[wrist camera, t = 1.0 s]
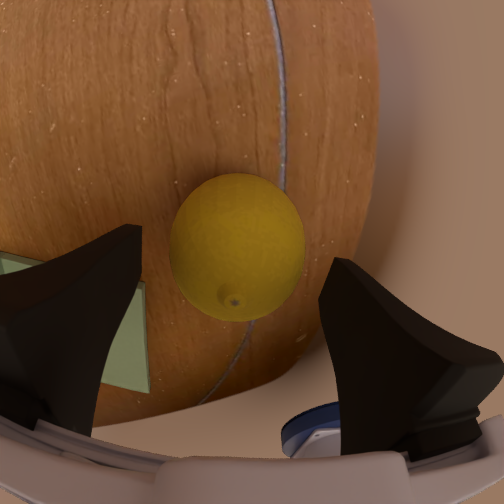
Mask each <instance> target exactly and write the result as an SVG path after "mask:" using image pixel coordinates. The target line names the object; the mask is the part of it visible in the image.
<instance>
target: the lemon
mask: <svg viewBox="0 0 504 504" xmlns="http://www.w3.org/2000/svg"><path fill="white" fill-rule="evenodd" d="M169 258H170V263H171V268H172V272H173V276H174V279H175V281H176V283H177V285H178V287H179V289H180V291H181V293H182V294H183V295H184V296H185V297H186V299H187V300H188V301H189V302H190V303H191V304H192V305H193V306H194V307H196V308H197V309H199V310H200V311H202V312H203V313H205V314H207V315H209V316H211V317H214V318H216V319H219V320H224V321H230V322H244V321H250V320H255V319H258V318H260V317H263V316H265V315H267V314H270V313H271V312H273V311H274V310H276V309H277V308H278V307H280V306H281V305H282V304H283V303H284V302H285V301H286V300H287V298H288V297H289V296H290V295H291V294H292V293H293V291H294V289H295V287H296V285H297V283H298V281H299V279H300V277H301V274H302V269H303V264H304V259H305V238H304V229H303V225H302V222H301V220H300V217H299V215H298V212H297V210H296V208H295V206H294V205H293V203H292V202H291V201H290V199H289V198H288V197H287V196H286V194H285V193H284V192H283V191H282V190H281V189H279V188H278V187H277V186H275V185H274V184H272V183H271V182H270V181H268V180H266V179H263V178H261V177H258V176H256V175H252V174H244V173H232V174H224V175H220V176H217V177H215V178H212V179H210V180H207V181H206V182H204V183H203V184H202V185H200V186H199V187H198V188H196V189H195V190H194V191H192V192H191V194H190V195H189V196H188V197H187V199H186V200H185V201H184V202H183V204H182V205H181V206H180V208H179V210H178V212H177V215H176V217H175V220H174V223H173V225H172V228H171V234H170V247H169Z"/></svg>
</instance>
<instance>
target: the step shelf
mask: <svg viewBox="0 0 504 504" xmlns="http://www.w3.org/2000/svg"><path fill="white" fill-rule="evenodd" d="M42 263H45V262H42V261H38V260H34V259H30V258H25V257H21V256H17V255H13V254H9V253H5V252H1V251H0V275H2V274H7V273H11V272H15V271H19V270H22V269H26V268H29V267H32V266H35V265H39V264H42ZM101 382H102V383H106V384H110V385H114V386H118V387H122V388H126V389H131V390H135V391H140V392H144V393H149V392H150V388H151V385H150V375H149V363H148V349H147V332H146V307H145V282H140V281H139V282H138V285H137V288H136V291H135V294H134V296H133V299H132V301H131V303H130V305H129V307H128V309H127V311H126V313H125V316H124V318H123V320H122V322H121V324H120V326H119V328H118V331H117V333H116V335H115V337H114V339H113V342H112V345H111V347H110V350H109V353H108V357H107V360H106V364H105V367H104V371H103V375H102V379H101Z"/></svg>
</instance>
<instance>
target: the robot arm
mask: <svg viewBox="0 0 504 504" xmlns="http://www.w3.org/2000/svg"><path fill="white" fill-rule="evenodd" d="M141 273H142V226H139V225H132V224H124V225H122V226H120V227H118V228H116V229H114V230H112V231H110V232H108V233H106V234H104V235H102V236H101V237H99V238H97V239H95V240H93V241H91V242H89V243H87V244H85V245H83V246H81V247H79V248H77V249H75V250H73V251H71V252H69V253H67V254H65V255H62V256H60V257H58V258H55V259H52V260H50V261H47V262H45V263H42V264H39V265H35V266H32V267H29V268H26V269H22V270H19V271H15V272H11V273H7V274H2V275H0V488H2V489H4V490H5V491H7V492H9V493H10V494H12V495H14V496H16V497H18V498H20V499H21V500H23V501H25V502H27V503H29V504H459V503H461V502H463V501H465V500H467V499H469V498H471V497H473V496H475V495H477V494H478V493H480V492H482V491H484V490H485V489H487V488H489V487H490V486H492V485H493V484H495V483H497V482H498V481H500V480H501V479H503V478H504V419H503V417H502V415H497V416H494V417H492V418H489V419H486V420H484V421H482V422H481V423H480V424H478V422H477V420H476V417H478V416H479V415H480V411H479V409H478V407H477V406H478V405H479V404H480V403H481V402H482V401H483V400H484V399H485V398H486V397H487V396H488V395H489V394H490V392H492V390H494V388H495V387H496V386H497V385H498V384H499V382H500V381H501V379H502V377H503V375H504V363H503V361H502V360H501V358H500V356H499V355H498V354H497V353H496V352H494V351H492V350H489V349H486V348H483V347H481V346H478V345H475V344H473V343H470V342H468V341H466V340H464V339H462V338H459V337H457V336H455V335H453V334H451V333H449V332H447V331H445V330H444V329H442V328H440V327H438V326H437V325H435V324H433V323H432V322H430V321H429V320H427V319H425V318H424V317H422V316H421V315H419V314H418V313H416V312H415V311H414V310H412V309H411V308H409V307H408V306H407V305H405V304H404V303H403V302H401V301H400V300H399V299H398V298H396V297H395V296H394V295H393V294H391V293H390V292H389V291H388V290H387V289H385V288H384V287H383V286H382V285H381V284H379V283H378V282H377V281H376V280H375V279H374V278H372V277H371V276H370V275H369V274H368V273H366V272H365V271H364V270H363V269H361V268H360V267H359V266H358V265H356V264H355V263H354V262H352V261H351V260H349V259H343V258H337V257H334V260H333V263H332V265H331V268H330V271H329V273H328V276H327V278H326V281H325V283H324V286H323V289H322V291H321V294H320V296H319V298H318V302H319V311H320V318H321V323H322V327H323V330H324V334H325V338H326V342H327V345H328V349H329V352H330V356H331V360H332V363H333V367H334V372H335V376H336V383H337V391H338V400H339V412H340V427H337V428H318V429H315V430H314V431H313V432H312V434H311V435H310V436H309V437H308V438H307V440H306V441H305V442H304V443H303V444H302V446H301V447H300V448H299V449H298V450H297V451H296V452H295V453H294V455H293V456H292V457H291V458H290V459H268V458H267V459H266V458H265V459H264V458H241V457H209V456H191V457H184V458H178V457H171V456H166V455H160V454H154V453H150V452H145V451H140V450H136V449H131V448H127V447H123V446H119V445H115V444H112V443H108V442H104V441H101V440H97V439H94V438H91V432H92V425H93V418H94V412H95V407H96V401H97V396H98V391H99V387H100V383H101V379H102V375H103V371H104V367H105V364H106V360H107V357H108V353H109V350H110V347H111V345H112V342H113V339H114V337H115V335H116V333H117V331H118V328H119V326H120V324H121V322H122V320H123V318H124V316H125V313H126V311H127V309H128V307H129V305H130V303H131V301H132V299H133V296H134V294H135V291H136V288H137V285H138V282H139V279H140V276H141Z"/></svg>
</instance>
